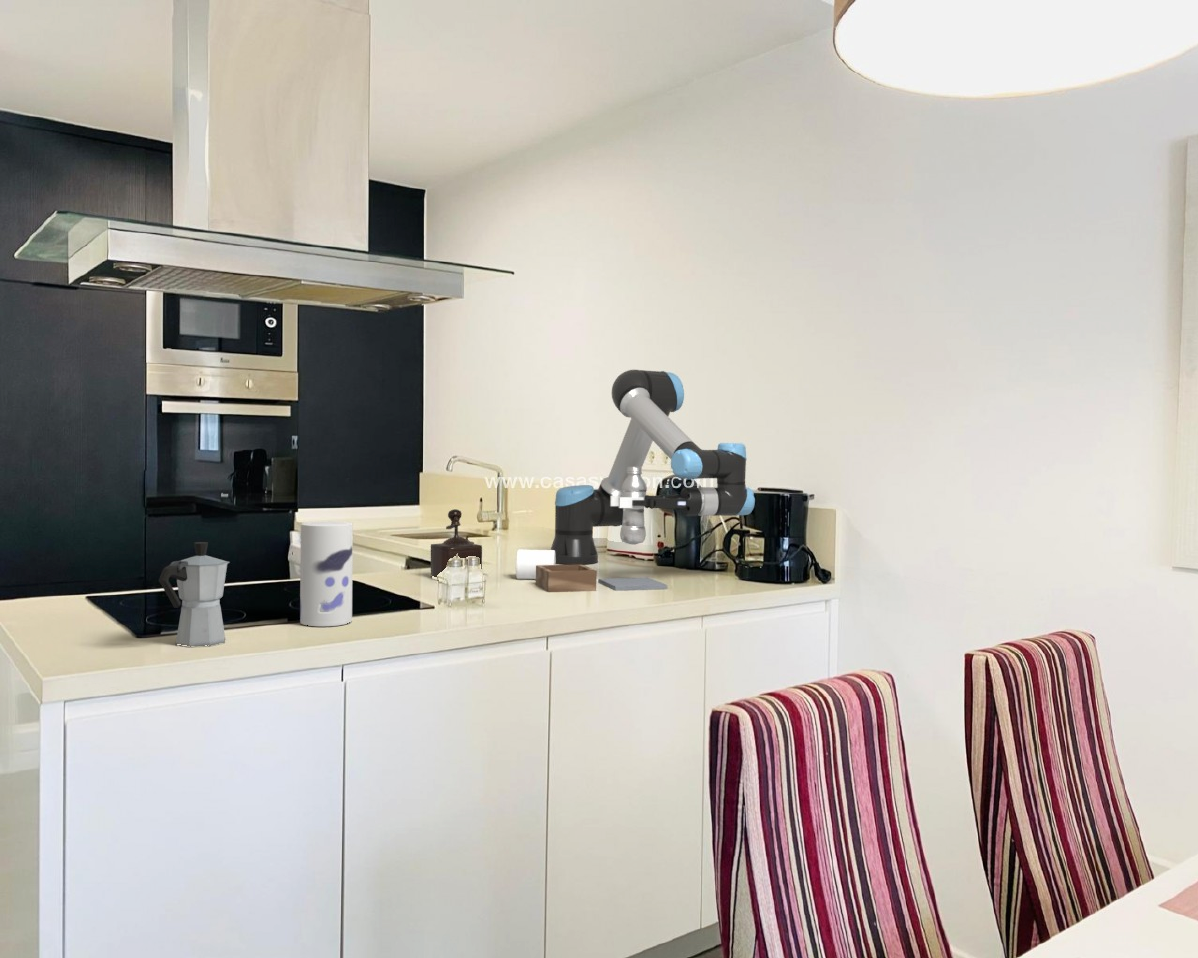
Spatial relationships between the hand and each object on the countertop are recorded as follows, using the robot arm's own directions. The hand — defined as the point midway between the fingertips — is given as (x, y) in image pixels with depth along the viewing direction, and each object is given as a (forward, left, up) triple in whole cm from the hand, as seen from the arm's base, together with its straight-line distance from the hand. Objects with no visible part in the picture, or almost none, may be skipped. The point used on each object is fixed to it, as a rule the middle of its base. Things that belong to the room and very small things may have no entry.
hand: (615, 501), depth 249 cm
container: (+35, -73, -22) cm, 84 cm away
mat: (0, +5, -22) cm, 22 cm away
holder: (0, -13, -22) cm, 25 cm away
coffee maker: (+50, -96, -22) cm, 110 cm away
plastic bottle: (0, +5, -11) cm, 12 cm away
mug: (-18, -16, -22) cm, 33 cm away
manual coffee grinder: (-22, -38, -22) cm, 49 cm away
